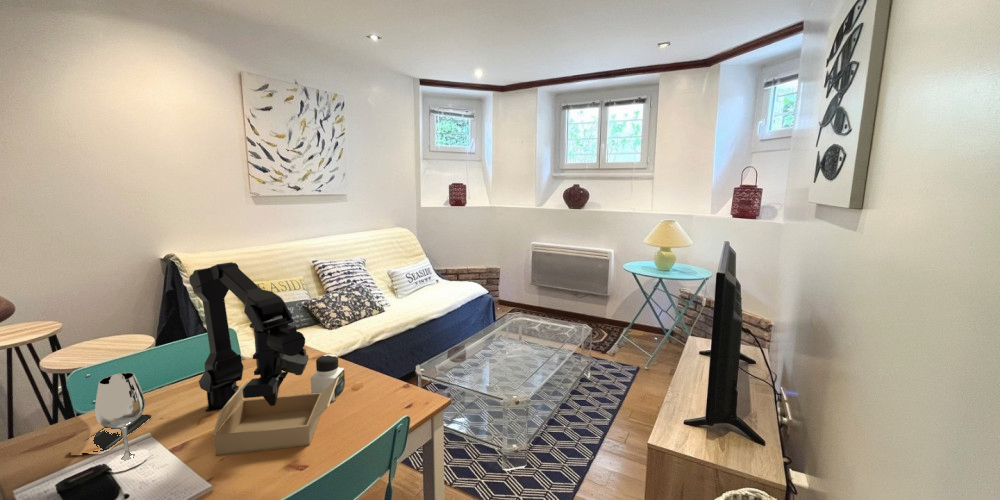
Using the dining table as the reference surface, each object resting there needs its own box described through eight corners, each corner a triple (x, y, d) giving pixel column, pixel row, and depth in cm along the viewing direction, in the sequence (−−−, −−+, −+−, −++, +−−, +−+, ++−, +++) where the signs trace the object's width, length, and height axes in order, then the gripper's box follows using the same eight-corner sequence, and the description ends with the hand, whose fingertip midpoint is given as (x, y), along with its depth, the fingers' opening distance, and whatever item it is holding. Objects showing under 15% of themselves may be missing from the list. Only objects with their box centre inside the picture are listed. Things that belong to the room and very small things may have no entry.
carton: (215, 456, 89) (213, 436, 89) (243, 417, 105) (242, 399, 104) (309, 444, 94) (308, 425, 93) (323, 408, 109) (322, 392, 109)
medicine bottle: (335, 401, 113) (333, 362, 112) (311, 400, 114) (309, 361, 112) (345, 389, 120) (343, 352, 119) (322, 388, 121) (320, 351, 119)
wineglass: (110, 479, 82) (97, 390, 79) (98, 465, 86) (86, 380, 83) (157, 458, 88) (146, 375, 85) (144, 445, 92) (134, 366, 89)
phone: (153, 414, 104) (104, 450, 89) (154, 418, 104) (105, 455, 89) (120, 415, 103) (65, 453, 88) (121, 419, 103) (66, 457, 88)
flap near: (214, 434, 89) (212, 434, 89) (241, 400, 103) (239, 399, 103) (222, 410, 89) (220, 410, 88) (248, 379, 103) (246, 379, 103)
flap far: (322, 392, 108) (323, 393, 108) (309, 424, 94) (310, 425, 94) (337, 376, 108) (338, 377, 109) (327, 405, 94) (328, 406, 94)
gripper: (294, 359, 89) (297, 422, 91) (312, 331, 107) (315, 384, 109) (239, 364, 86) (244, 428, 89) (268, 333, 104) (271, 388, 107)
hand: (273, 405), depth 98 cm, fingers closed
